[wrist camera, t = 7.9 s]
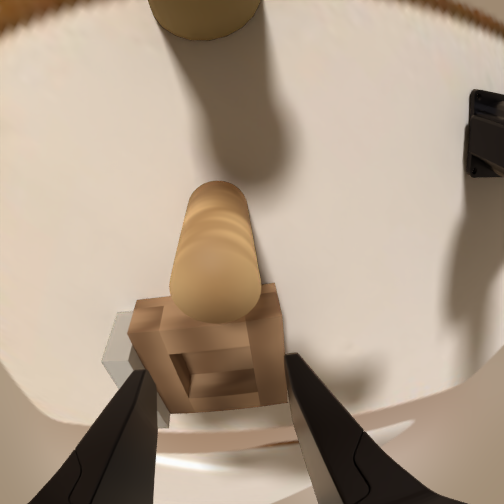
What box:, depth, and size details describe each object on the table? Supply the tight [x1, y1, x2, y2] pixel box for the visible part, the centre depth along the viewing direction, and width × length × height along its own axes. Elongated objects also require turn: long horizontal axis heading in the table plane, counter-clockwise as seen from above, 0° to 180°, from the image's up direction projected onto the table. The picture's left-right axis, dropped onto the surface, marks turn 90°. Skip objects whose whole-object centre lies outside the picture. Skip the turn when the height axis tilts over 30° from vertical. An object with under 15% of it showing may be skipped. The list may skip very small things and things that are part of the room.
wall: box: [101, 311, 170, 428], centre depth 23 cm, size 2×9×5 cm, turn 6°
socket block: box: [127, 283, 288, 414], centre depth 24 cm, size 10×10×4 cm
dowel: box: [169, 181, 261, 324], centre depth 16 cm, size 4×4×8 cm
